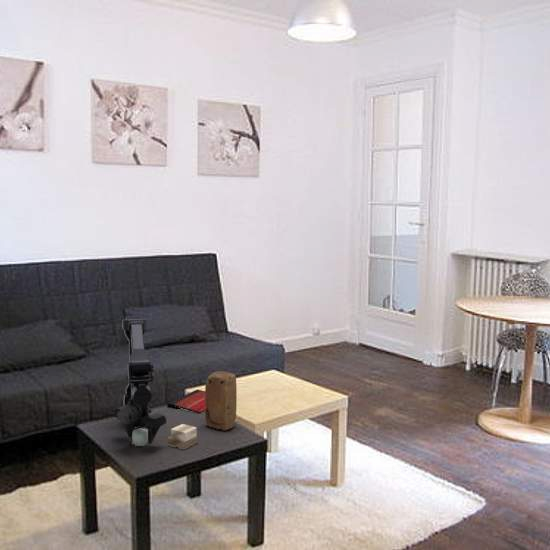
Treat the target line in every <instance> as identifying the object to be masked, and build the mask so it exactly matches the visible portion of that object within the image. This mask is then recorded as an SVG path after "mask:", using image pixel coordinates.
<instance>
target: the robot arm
mask: <svg viewBox="0 0 550 550" xmlns="http://www.w3.org/2000/svg"><path fill="white" fill-rule="evenodd" d="M147 320H148V319H147V318H144V317H143V315H135V316H132V315H131V316H130V315H129V316H125V319H122V320H121V325H122V330H123V332H124V336H125V338H126V339H127V341H128V356H129V357H128V358H129V359H128V361H129V362H127V376H128V377H127V378H128V384H127V386H126V387H125V393H124V394H123V402H122V403H123V405H122V406H119V407H116V409H115V410H114V414H113V415H114V418H117V420H118V421H119V423H122V424H124V425H123V427H124V429H125V431H126V434H127V437H128V438H129V439H131V438H132V431H133V430H134V429H135V428H134V427H138V426H141V427H143V426H144V429H147V430H148V445H151V444H152V443H153V442H154V439H155V438H156V436H157V433H158V432H159V430H160V428H161V427H162V426H164V425H166V424H167V416H166V415H164V414H161V413H158V412H157V413H153V414H152V409H151V408H150V402H151V401H152V397H153V395H152V392H151V389H150V386H149V383H150V382H151V383H152V382H153V381H154V378H155V370H154V364H153V362H152V361H150V355H149V354H148V353H147V352H146V350H145V341H144V335H145V330H147V328H148V325H147V323H148V321H147ZM150 414H152V415H150ZM144 424H146V425H144ZM142 425H143V426H142ZM138 428H139V427H138Z"/></svg>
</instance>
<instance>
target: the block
mask: <svg viewBox="0 0 550 550" xmlns="http://www.w3.org/2000/svg"><path fill="white" fill-rule="evenodd" d="M204 386H205V387H204V389H205V390H204V391H205V403H206V410H205V412H204V414H205V416H204V417H205V421H204V422H205V425H206V426H208V427H210V428H212V427H213V428H212V429H215V428H217V429H216V430H218V429H222V430H221V431H228V429H229V430H231V429H233V427H234V426H235V422H236V418H237V398H238V396H237V391H238V389H237V377H236V375H235V373H233V372H229V371H226V370H225V371H223V370H218V371H214V372H212V373H211V374H210V375H208V377H207V379H206V382H205V385H204ZM230 428H231V429H230Z"/></svg>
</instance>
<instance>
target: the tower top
mask: <svg viewBox="0 0 550 550" xmlns="http://www.w3.org/2000/svg"><path fill="white" fill-rule="evenodd" d="M197 428H198V427H196V426H192V425H188V424H184V423H181V424H179V425H177V426H175V427H172V428H171V429H170V437H171V438H174V439H177V440H181V441H184V442H186V441H188V440H190V439H192V438H194V437H196V436H198V435H197Z"/></svg>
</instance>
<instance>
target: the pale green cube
mask: <svg viewBox="0 0 550 550" xmlns="http://www.w3.org/2000/svg"><path fill="white" fill-rule="evenodd" d="M131 438H132V445H133V444H135V445H143V444H146V443H147V442H148V430H147V429H146V428H143V427H142V428H141V427H138V428H134V429H133V431H132V437H131ZM148 443H149V442H148Z"/></svg>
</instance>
